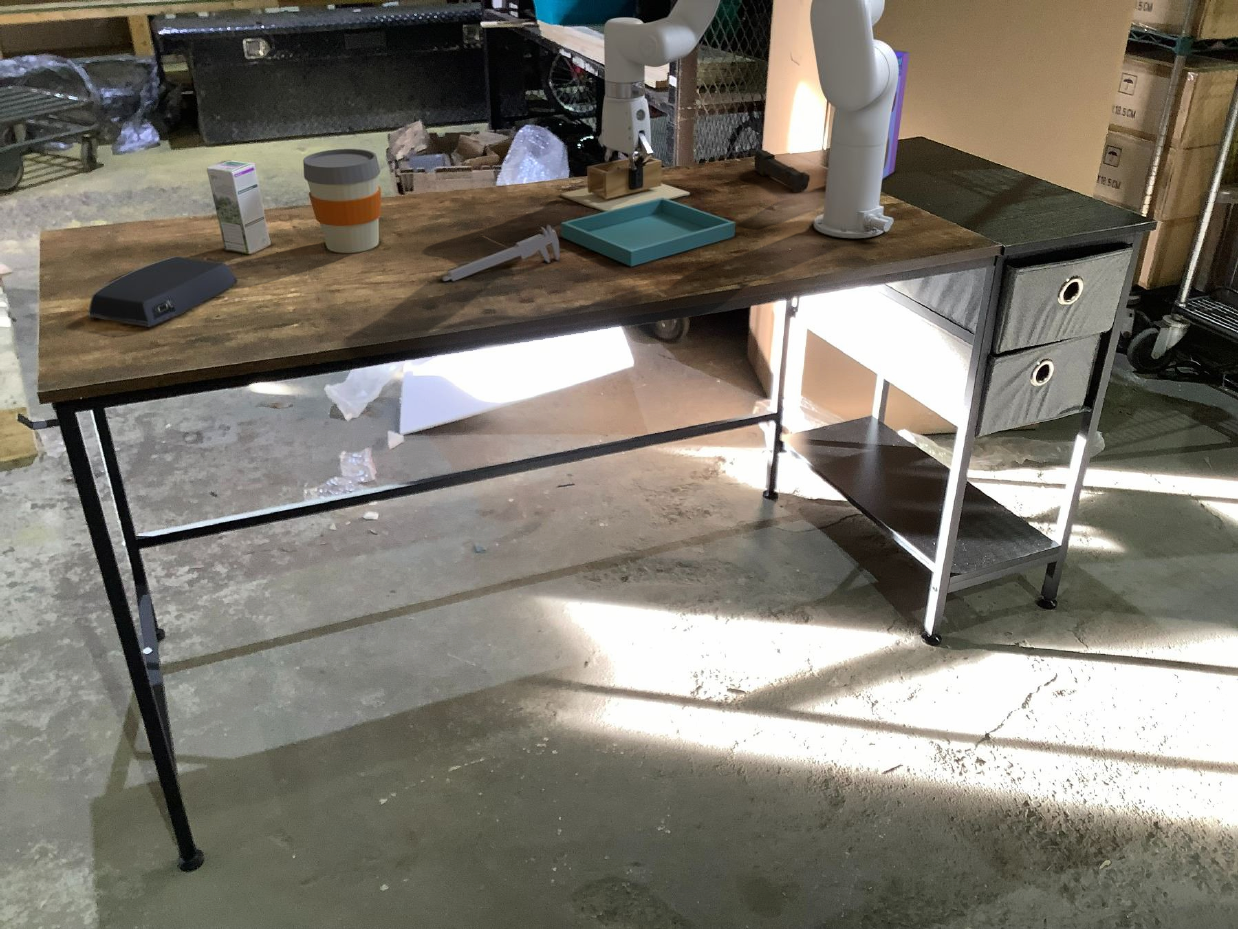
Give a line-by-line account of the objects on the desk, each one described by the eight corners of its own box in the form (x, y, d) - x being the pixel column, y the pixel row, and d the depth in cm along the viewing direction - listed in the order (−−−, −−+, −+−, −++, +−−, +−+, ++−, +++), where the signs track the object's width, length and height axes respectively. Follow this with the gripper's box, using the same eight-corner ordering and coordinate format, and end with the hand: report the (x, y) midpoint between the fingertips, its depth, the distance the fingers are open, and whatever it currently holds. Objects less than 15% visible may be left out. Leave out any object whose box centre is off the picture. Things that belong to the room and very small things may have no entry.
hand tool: (809, 191, 203) (811, 168, 201) (791, 193, 202) (793, 170, 200) (766, 168, 219) (768, 146, 216) (749, 170, 218) (751, 147, 215)
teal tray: (734, 237, 180) (735, 222, 179) (631, 267, 168) (631, 251, 166) (662, 211, 193) (662, 197, 192) (561, 237, 181) (560, 222, 179)
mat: (689, 194, 202) (689, 192, 202) (610, 214, 192) (610, 212, 191) (638, 177, 213) (638, 175, 213) (560, 195, 203) (560, 193, 202)
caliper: (557, 259, 171) (555, 222, 168) (559, 261, 170) (558, 224, 167) (442, 280, 163) (438, 242, 160) (444, 283, 162) (440, 245, 159)
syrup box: (272, 244, 179) (256, 161, 171) (248, 255, 174) (231, 170, 167) (247, 240, 181) (230, 158, 173) (223, 251, 176) (204, 166, 169)
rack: (661, 185, 203) (661, 160, 201) (606, 199, 196) (606, 172, 193) (642, 179, 207) (642, 154, 205) (587, 192, 200) (586, 166, 197)
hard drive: (85, 318, 151) (77, 292, 149) (177, 274, 166) (172, 250, 164) (154, 331, 147) (147, 304, 145) (242, 285, 162) (237, 260, 160)
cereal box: (863, 192, 203) (877, 64, 190) (840, 188, 205) (853, 62, 193) (893, 171, 215) (909, 50, 203) (872, 168, 217) (886, 48, 205)
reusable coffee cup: (403, 243, 179) (393, 156, 171) (342, 261, 171) (328, 171, 163) (361, 227, 186) (350, 144, 178) (301, 245, 178) (286, 158, 171)
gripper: (669, 94, 188) (668, 190, 198) (612, 80, 200) (612, 172, 209) (638, 99, 184) (638, 198, 194) (581, 85, 196) (583, 178, 205)
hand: (625, 183), depth 201 cm, fingers closed on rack, 6 cm apart
